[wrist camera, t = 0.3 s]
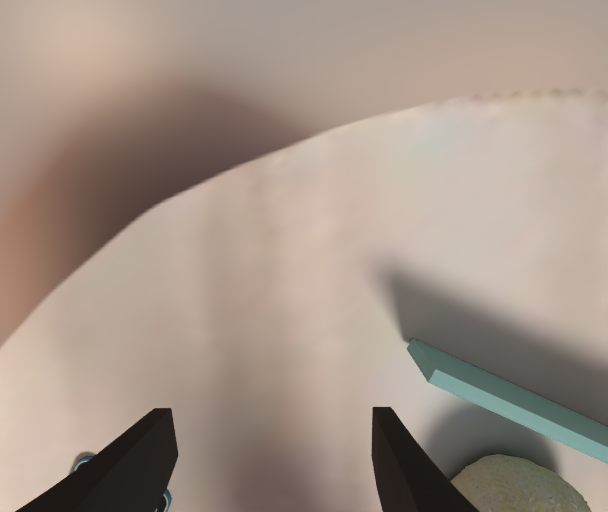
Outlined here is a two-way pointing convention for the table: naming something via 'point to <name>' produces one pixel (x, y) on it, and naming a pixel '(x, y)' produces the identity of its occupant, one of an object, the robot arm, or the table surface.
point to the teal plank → (511, 401)
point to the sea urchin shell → (516, 487)
